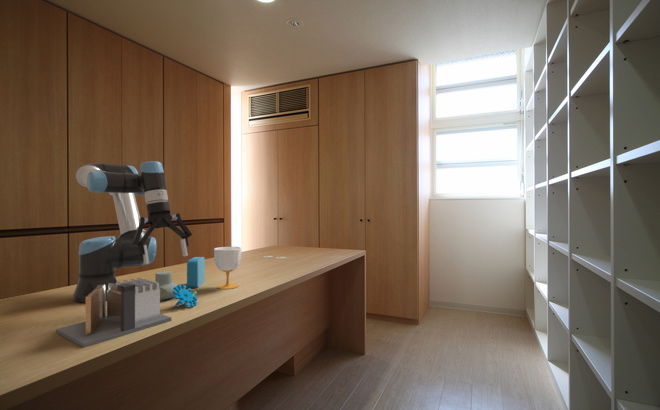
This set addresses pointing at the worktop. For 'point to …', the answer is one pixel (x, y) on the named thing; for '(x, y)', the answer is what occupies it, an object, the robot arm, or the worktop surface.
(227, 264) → the cup
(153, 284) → the heat sink
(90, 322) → the bar
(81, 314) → the worktop surface
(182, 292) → the gear
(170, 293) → the air freshener
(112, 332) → the cooler board
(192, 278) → the data package
